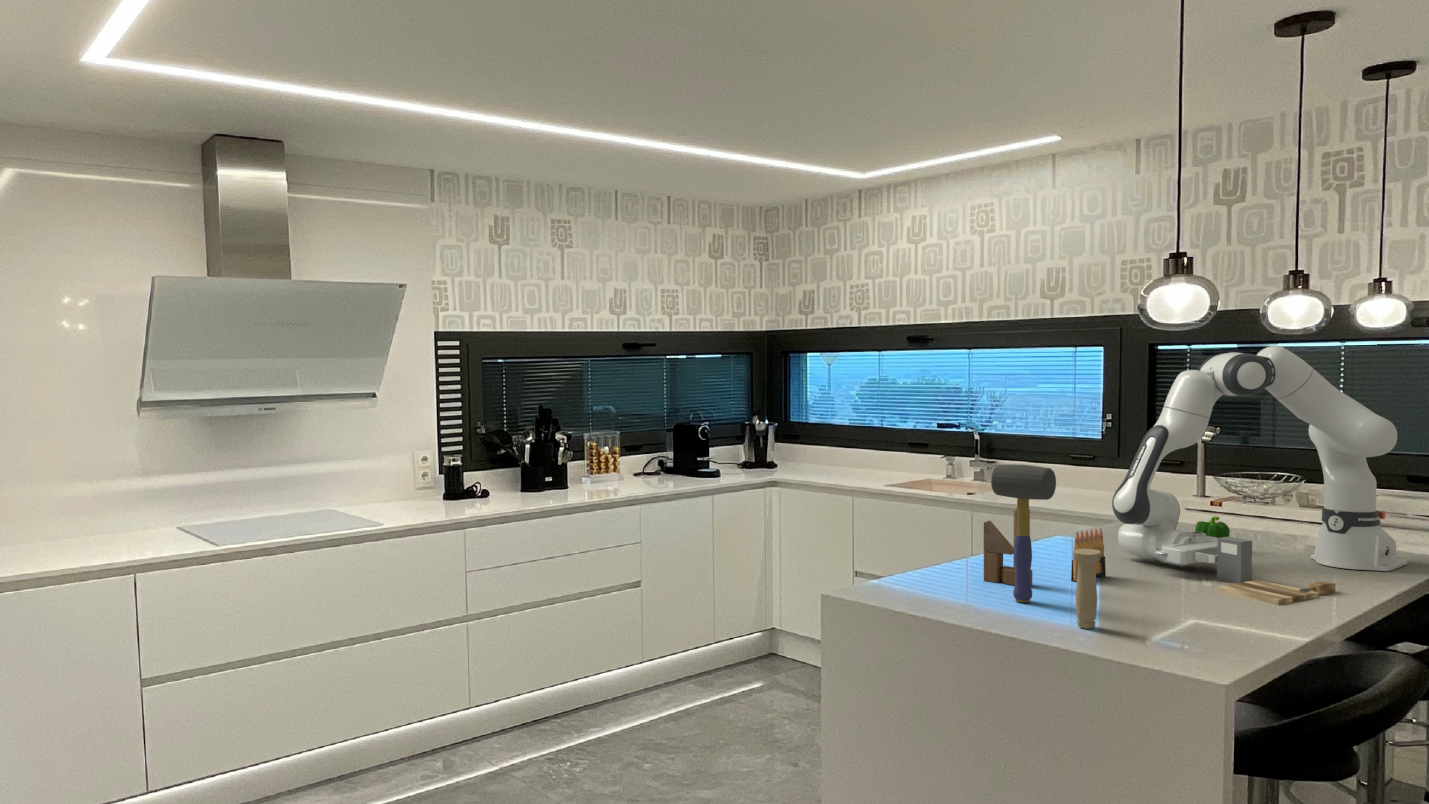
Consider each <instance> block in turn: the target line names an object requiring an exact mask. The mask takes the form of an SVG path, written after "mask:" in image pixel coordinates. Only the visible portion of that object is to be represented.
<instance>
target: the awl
mask: <svg viewBox="0 0 1429 804" xmlns="http://www.w3.org/2000/svg"><path fill="white" fill-rule="evenodd" d="M1336 583H1337V582H1332V581H1317V582H1316V581H1314V582H1309V586H1308V587H1305V588H1299V591H1314V592H1318V596H1319V595H1328V594H1329V595H1330V594H1335V593H1336V586H1337V584H1336Z"/></svg>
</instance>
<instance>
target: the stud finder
mask: <svg viewBox="0 0 1429 804" xmlns="http://www.w3.org/2000/svg"><path fill="white" fill-rule="evenodd" d="M1217 556H1218V562H1216V580H1219V581H1223V582H1228V583H1231V584H1235V583H1241V582H1247V581H1253V580H1252V579H1253V572H1252V571H1253V540H1251V539H1245V538H1241V537H1240V538H1238V537H1233V536H1229V537H1222V538H1218V542H1217Z"/></svg>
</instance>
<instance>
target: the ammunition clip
mask: <svg viewBox="0 0 1429 804" xmlns="http://www.w3.org/2000/svg"><path fill="white" fill-rule="evenodd" d="M1076 549H1095V550H1100V551H1101V559H1100V561H1099V562H1096V580H1097V579H1103V578H1106V577H1107V576H1106V575H1107V574H1106V573H1107V572H1106V569H1107V568H1106V556H1105V543H1104V534H1103V530H1102V527H1100V528H1099V530H1098V529H1097V528H1094V530H1093V529H1090V530H1089V532H1088V530H1087V529H1085V531H1083V530H1081V531H1080V533H1079V531H1076V532H1075V534H1074V543H1073V550H1072V552H1073V551H1074V550H1076ZM1077 571H1078V562H1077V561H1076V560H1074V559H1073V558H1072V560H1071V572H1070V573H1071V576H1070V577H1071V578H1070V581H1071V582H1075V583H1077Z"/></svg>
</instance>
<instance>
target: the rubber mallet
mask: <svg viewBox="0 0 1429 804" xmlns="http://www.w3.org/2000/svg"><path fill="white" fill-rule="evenodd" d="M990 483H991V484H990V485H991V490H992V491H993V493H994V494H995V495H996V496H1001V497H1006V498H1007V497H1008V498H1013V499H1017V500H1016V503H1017V504H1016V507H1017V535H1016V538H1015V545H1014V544H1013V547H1014V554H1013V564H1014V563H1015V585H1014V587H1013V590H1012V591H1013V592H1012V594H1013V595H1012V596H1013V598H1014V599H1015V601H1016V602H1018V603H1023V604H1024V603H1029V602H1030V600H1032V597H1033V590H1032V585H1031V570H1032V569H1031V568H1032V563H1033V562H1032V560H1033V550H1032V549H1033V548H1032V540H1031V534H1030V535H1029V510H1030V500H1037V501H1039V500H1041V501H1042V500H1043V501H1048V500H1050V499H1052V498H1053V496H1055V495H1054V494H1055V492H1056V488H1057V477H1056V474H1055V472H1054V470H1053V469H1052V467H1050V468H1049V467H1044V466H1037V465H1030V464H1016V463H1015V464H1011V463H1010V464H1008V463H1007V464H1006V463H1005V464H1004V463H1003V464H998V465H996V466H995V467H994V469H993V470H992V472H991V477H990Z"/></svg>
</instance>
